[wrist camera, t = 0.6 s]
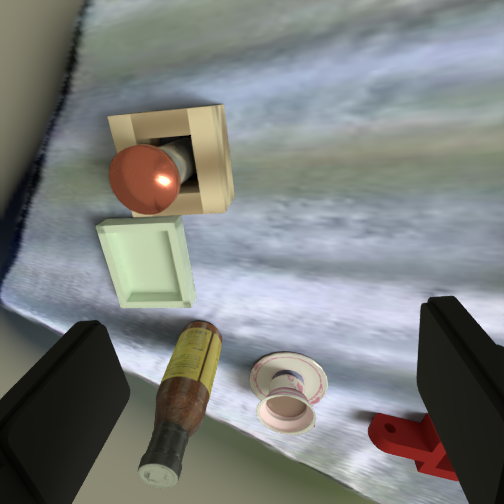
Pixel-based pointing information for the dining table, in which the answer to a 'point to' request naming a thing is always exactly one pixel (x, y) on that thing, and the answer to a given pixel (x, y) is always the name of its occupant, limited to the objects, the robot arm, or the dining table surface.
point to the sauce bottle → (181, 402)
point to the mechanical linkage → (412, 443)
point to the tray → (148, 261)
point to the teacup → (288, 392)
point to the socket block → (204, 146)
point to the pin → (151, 174)
